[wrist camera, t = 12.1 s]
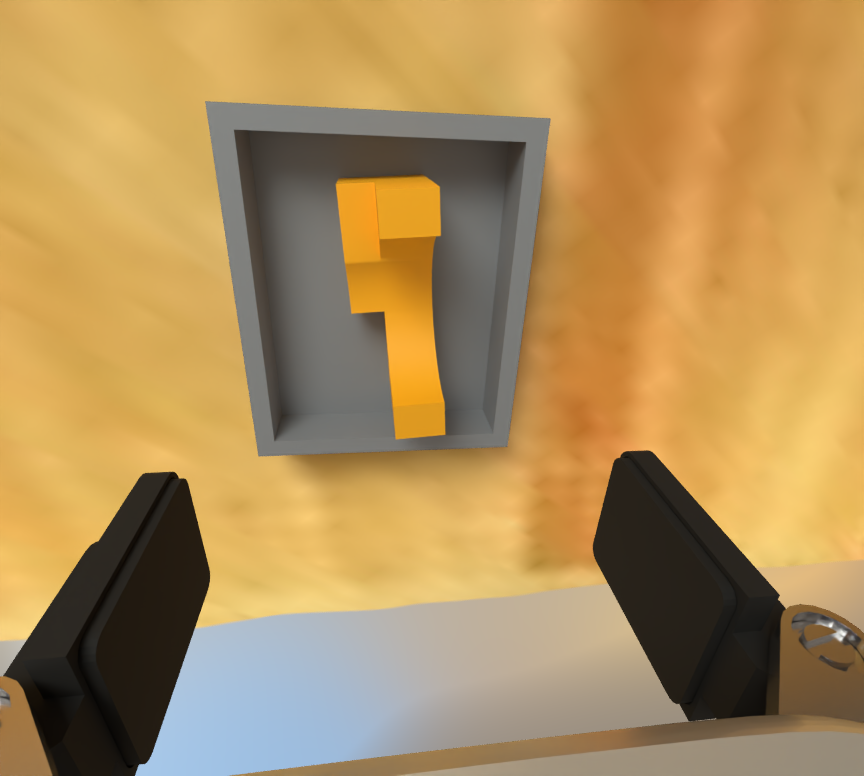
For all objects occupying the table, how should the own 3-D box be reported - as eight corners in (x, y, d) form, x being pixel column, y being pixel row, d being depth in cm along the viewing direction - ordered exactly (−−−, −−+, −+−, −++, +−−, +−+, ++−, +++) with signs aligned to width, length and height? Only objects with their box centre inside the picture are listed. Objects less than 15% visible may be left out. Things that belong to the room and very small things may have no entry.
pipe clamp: (338, 178, 25) (331, 191, 19) (422, 174, 26) (439, 186, 20) (361, 385, 31) (361, 442, 25) (430, 379, 31) (445, 434, 26)
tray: (525, 120, 26) (550, 118, 22) (492, 414, 34) (507, 446, 31) (228, 105, 24) (205, 101, 20) (270, 420, 32) (258, 456, 29)
